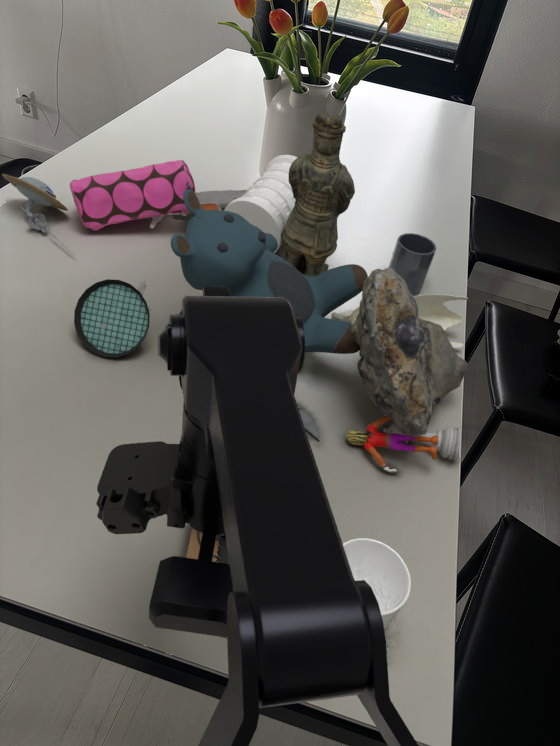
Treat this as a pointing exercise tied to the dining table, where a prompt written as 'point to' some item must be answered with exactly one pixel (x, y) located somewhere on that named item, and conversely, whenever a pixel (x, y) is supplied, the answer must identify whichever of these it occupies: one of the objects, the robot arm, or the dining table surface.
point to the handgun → (213, 201)
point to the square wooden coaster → (198, 545)
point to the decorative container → (268, 198)
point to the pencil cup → (413, 260)
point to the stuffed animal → (265, 273)
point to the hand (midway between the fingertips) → (207, 563)
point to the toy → (36, 200)
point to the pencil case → (132, 194)
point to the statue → (317, 198)
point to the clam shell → (422, 312)
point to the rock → (402, 354)
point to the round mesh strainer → (112, 318)
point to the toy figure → (388, 441)
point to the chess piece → (439, 440)
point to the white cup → (380, 574)
